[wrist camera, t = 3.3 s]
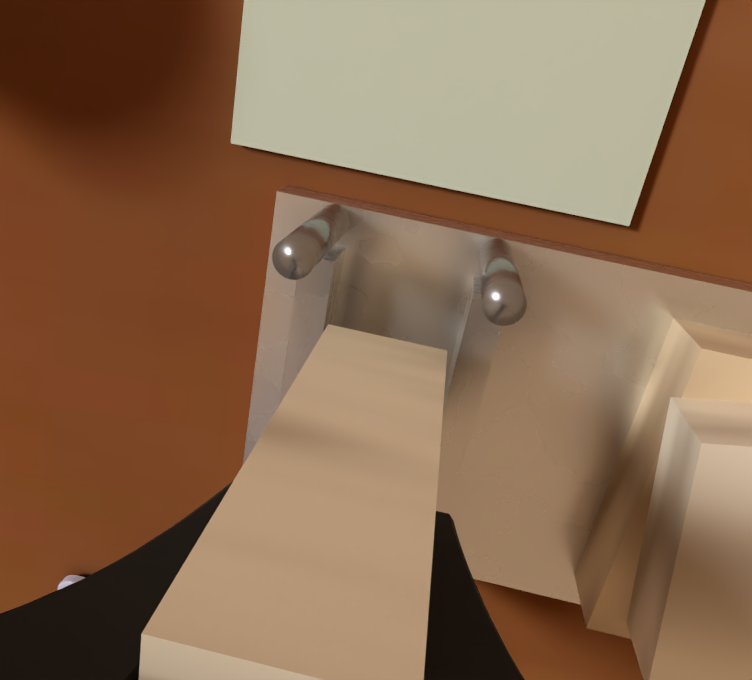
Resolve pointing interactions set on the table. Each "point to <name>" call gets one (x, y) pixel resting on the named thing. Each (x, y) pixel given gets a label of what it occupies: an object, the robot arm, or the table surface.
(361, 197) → the table surface
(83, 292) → the table surface
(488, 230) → the rack
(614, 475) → the offcut lower
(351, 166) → the mat
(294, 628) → the birch block
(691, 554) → the offcut upper
